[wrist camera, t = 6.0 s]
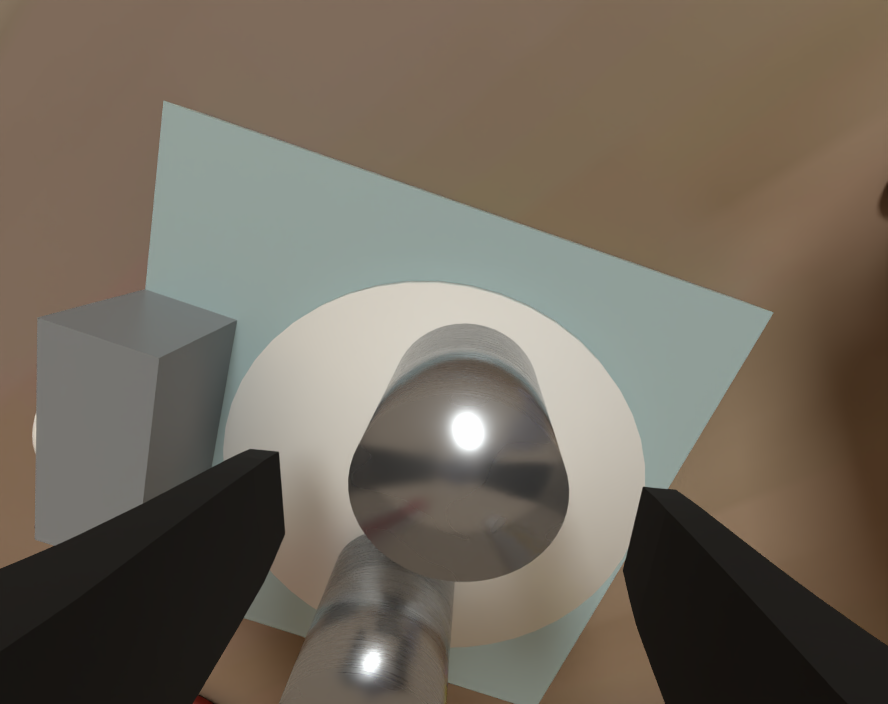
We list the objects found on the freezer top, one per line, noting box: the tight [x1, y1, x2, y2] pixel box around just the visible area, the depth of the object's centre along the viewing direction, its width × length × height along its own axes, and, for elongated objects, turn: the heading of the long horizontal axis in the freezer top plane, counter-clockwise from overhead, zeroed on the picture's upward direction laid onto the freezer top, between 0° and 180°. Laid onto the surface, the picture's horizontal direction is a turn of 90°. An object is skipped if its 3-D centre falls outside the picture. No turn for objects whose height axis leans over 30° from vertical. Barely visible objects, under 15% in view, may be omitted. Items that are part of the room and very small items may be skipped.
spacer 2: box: [348, 323, 569, 582], centre depth 11 cm, size 4×4×5 cm
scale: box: [32, 101, 773, 704], centre depth 14 cm, size 18×18×5 cm
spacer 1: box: [279, 534, 455, 704], centre depth 14 cm, size 4×4×5 cm
